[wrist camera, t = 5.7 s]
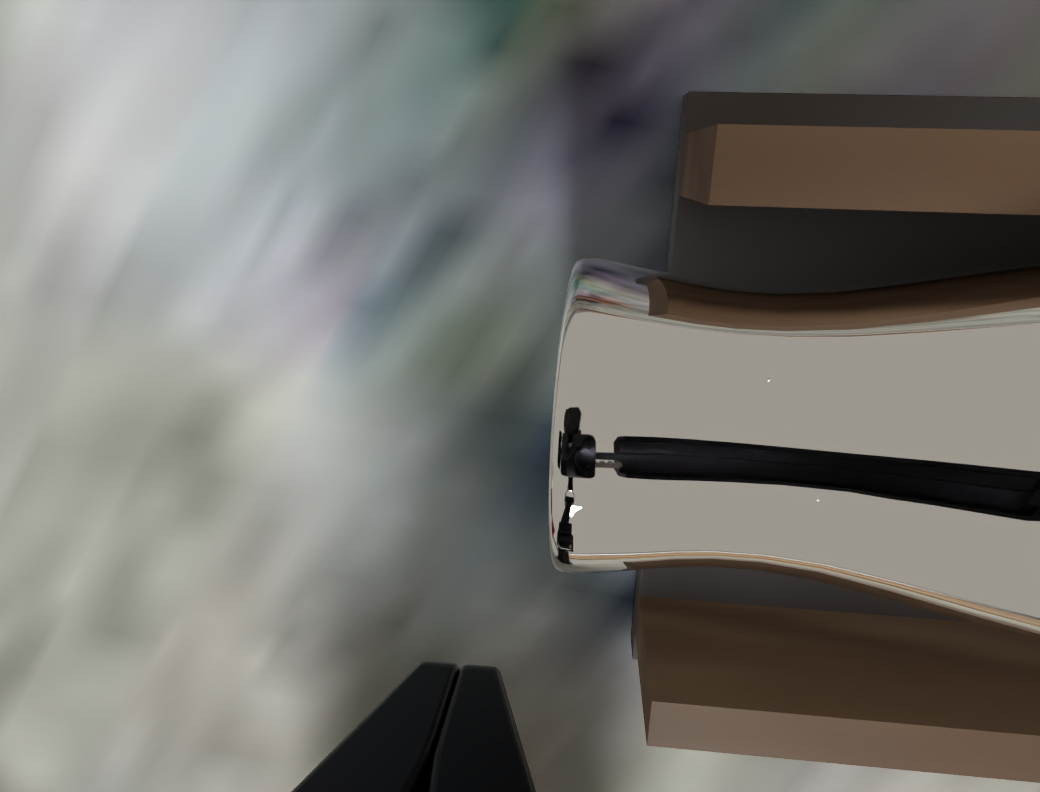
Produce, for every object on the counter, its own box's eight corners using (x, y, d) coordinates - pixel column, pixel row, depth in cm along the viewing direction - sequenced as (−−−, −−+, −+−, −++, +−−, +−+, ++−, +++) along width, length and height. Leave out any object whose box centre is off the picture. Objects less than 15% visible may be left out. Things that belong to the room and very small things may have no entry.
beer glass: (588, 199, 15) (1402, 217, 12) (578, 464, 18) (1223, 519, 15) (544, 306, 9) (2142, 383, 6) (542, 680, 12) (1592, 825, 9)
